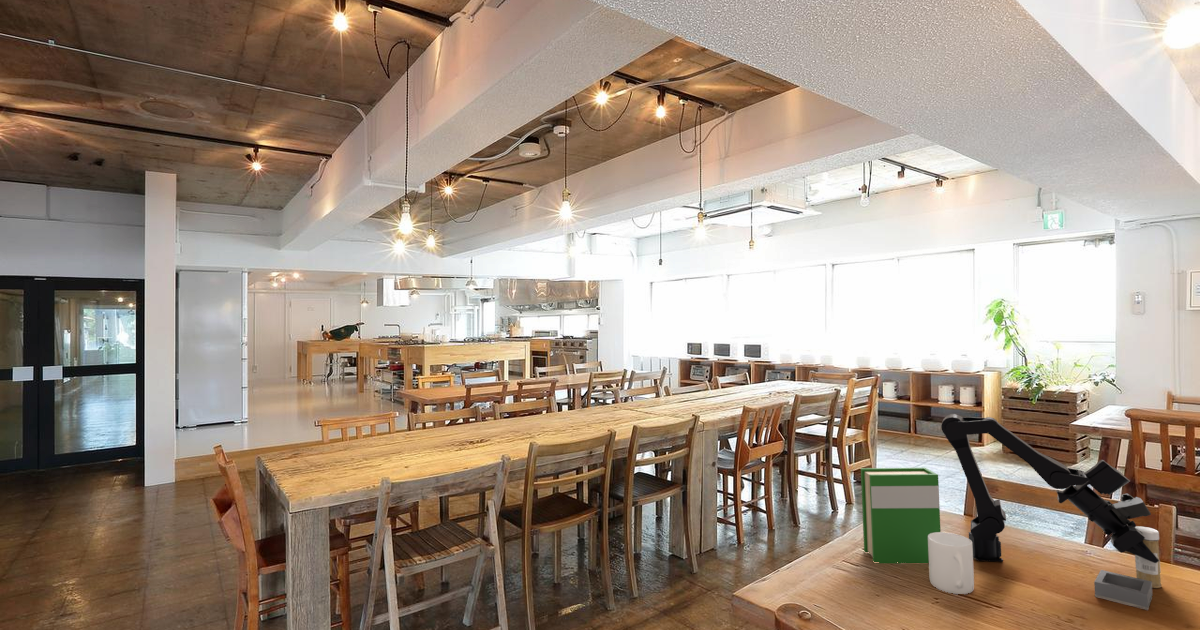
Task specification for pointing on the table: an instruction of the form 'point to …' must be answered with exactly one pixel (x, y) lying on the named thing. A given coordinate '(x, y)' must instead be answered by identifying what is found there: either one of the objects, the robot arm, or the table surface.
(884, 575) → the table surface
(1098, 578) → the holder
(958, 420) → the robot arm
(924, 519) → the hardback book
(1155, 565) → the sprinkles bottle
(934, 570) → the mug
